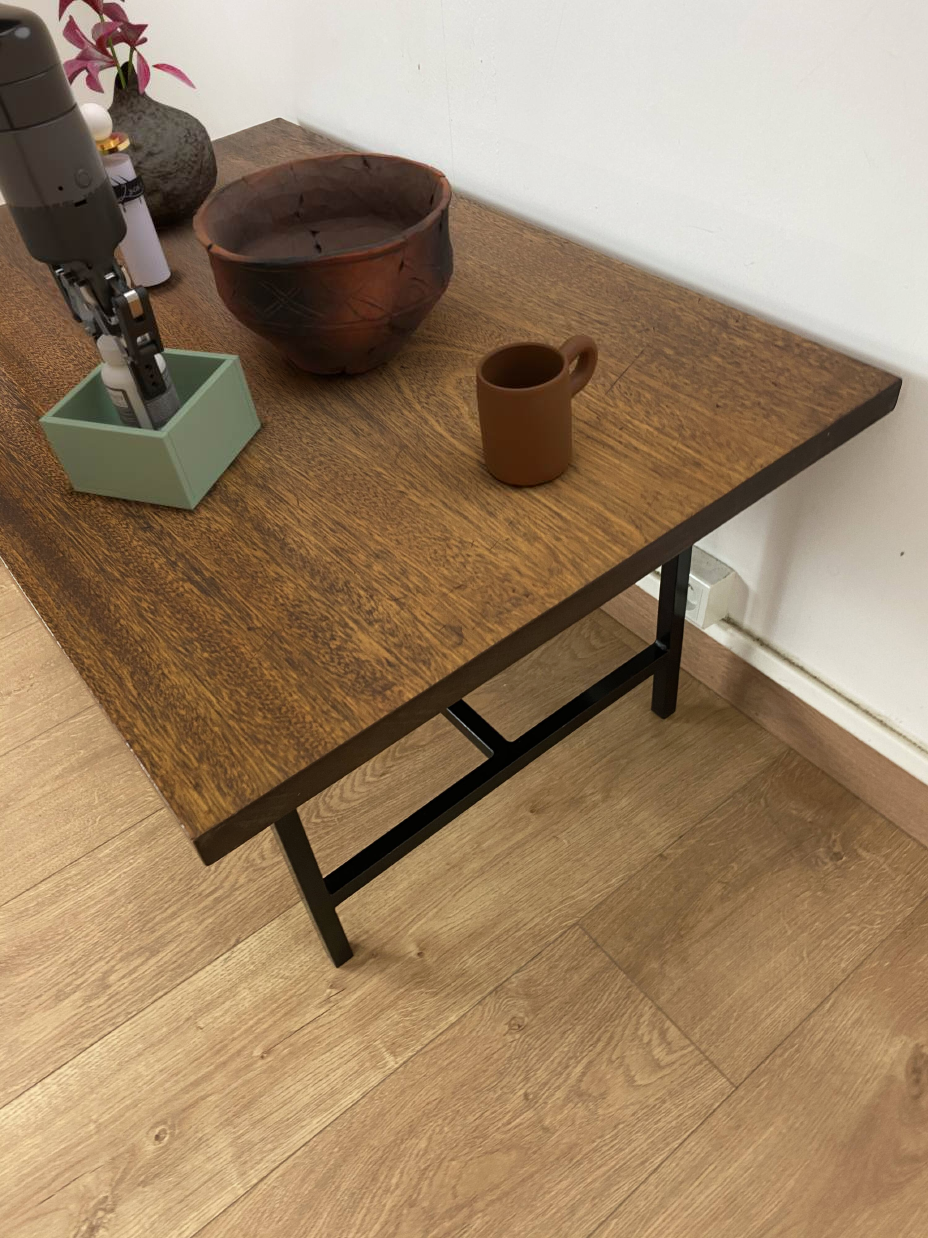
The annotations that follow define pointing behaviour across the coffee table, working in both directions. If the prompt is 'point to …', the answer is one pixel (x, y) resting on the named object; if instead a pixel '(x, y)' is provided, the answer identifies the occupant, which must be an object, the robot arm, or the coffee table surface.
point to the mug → (531, 406)
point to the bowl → (331, 255)
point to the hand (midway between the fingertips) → (138, 382)
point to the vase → (146, 118)
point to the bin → (156, 433)
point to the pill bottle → (135, 390)
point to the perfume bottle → (128, 200)
